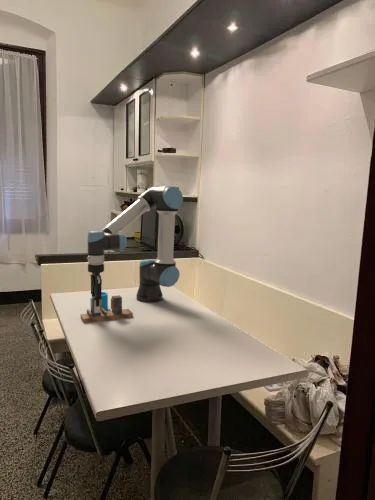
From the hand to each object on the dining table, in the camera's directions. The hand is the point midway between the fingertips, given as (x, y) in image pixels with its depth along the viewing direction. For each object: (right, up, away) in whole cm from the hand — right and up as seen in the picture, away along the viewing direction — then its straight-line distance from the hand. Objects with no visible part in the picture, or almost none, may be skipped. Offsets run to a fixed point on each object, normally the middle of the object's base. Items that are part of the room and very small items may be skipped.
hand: (96, 311), depth 189 cm
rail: (+5, -4, +3) cm, 7 cm away
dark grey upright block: (0, -2, 0) cm, 2 cm away
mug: (-3, -1, +18) cm, 18 cm away
